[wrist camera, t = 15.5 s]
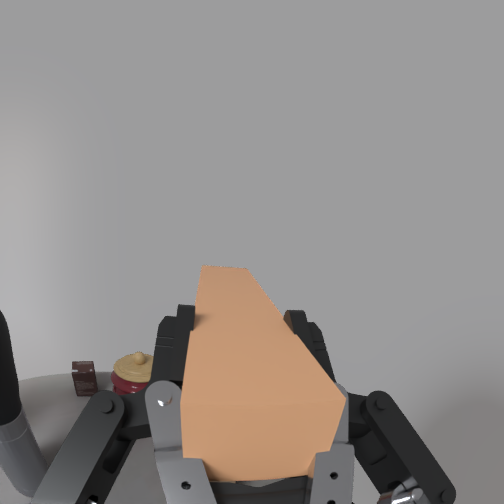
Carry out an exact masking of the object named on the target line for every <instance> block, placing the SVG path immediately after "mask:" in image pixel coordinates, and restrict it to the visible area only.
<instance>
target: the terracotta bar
mask: <svg viewBox="0 0 504 504" xmlns="http://www.w3.org/2000/svg"><path fill="white" fill-rule="evenodd" d="M195 307H196V308H195V321H194V329H193V331H191V332H190V338H189V344H188V351H187V358H186V364H185V371H184V379H183V386H182V394H181V401H180V410H181V432H182V448H183V458H200V459H202V462H203V465H204V468H205V471H206V474H207V477H208V480H209V481H249V480H267V479H278V478H288V477H296V476H304V475H308V467H309V465H310V463H311V461H312V460H313V458H314V456H315V454H316V453H319V452H325V451H330V448H331V445H332V442H333V440H334V437H335V434H336V431H337V428H338V425H339V422H340V418H341V415H342V412H343V409H344V405H345V402H346V398H345V397H344V395H343V394H342V393H341V391H340V390H339V389H338V388H337V386H336V385H335V384H334V382H333V381H332V380H331V379H330V377H329V376H328V375H327V373H326V372H325V371H324V370H323V368H322V367H321V366H320V364H319V363H318V362H317V360H316V359H315V358H314V357H313V355H312V354H311V353H310V351H309V350H308V349H307V347H306V346H305V345H304V343H303V342H302V341H301V340H300V338H299V337H298V336H297V335H294V333H293V332H292V331H291V329H290V328H289V327H288V325H287V324H286V323H285V321H284V320H283V318H284V317H283V316H282V315H281V313H280V312H279V311H278V309H277V308H276V307H275V305H274V304H273V303H272V301H271V300H270V299H269V297H268V296H267V295H266V293H265V292H264V291H263V289H262V288H261V287H260V285H259V284H258V283H257V281H256V280H255V279H254V277H253V276H252V275H251V273H250V272H249V271H248V269H246V268H232V267H217V266H205V265H203V266H202V268H201V274H200V279H199V285H198V291H197V296H196V302H195Z"/></svg>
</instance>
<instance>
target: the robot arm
mask: <svg viewBox="0 0 504 504" xmlns="http://www.w3.org/2000/svg"><path fill="white" fill-rule="evenodd" d="M195 308H196V307H195V306H193V305H180V304H179V305H178V310H177V317H173V316H165V317H164V319H163V320H162V321H161V323H160V324H159V327H158V333H157V338H156V346H155V351H154V357H153V363H152V370H151V377H150V380H149V382H148V384H147V385H146V386H145V387H144V388H143V389H142V390H140V391H138V392H135V393H130V394H124V395H118V394H116V393H115V392H112V391H109V390H103V391H99V392H97V393H95V394H94V395H93V396H92V397H91V398H90V400H89V402H88V403H87V405H86V406H85V408H84V410H83V411H82V413H81V414H80V416H79V418H78V419H77V421H76V423H75V424H74V426H73V428H72V429H71V431H70V433H69V434H68V436H67V438H66V439H65V441H64V443H63V444H62V446H61V448H60V450H59V451H58V453H57V455H56V456H55V458H54V460H53V462H52V464H51V465H50V467H48V465H47V463H46V461H45V459H44V457H43V455H42V453H41V451H40V448H39V446H38V444H37V442H36V440H35V437H34V435H33V433H32V430H31V428H30V425H29V423H28V420H27V418H26V415H25V412H24V409H23V407H22V404H21V401H20V397H19V384H18V378H17V374H16V369H15V364H14V358H13V352H12V347H11V340H10V334H9V330H8V326H7V322H6V320H5V318H4V315H3V314H2V312H1V311H0V465H1V467H2V469H3V470H4V472H5V473H6V475H7V477H8V478H9V480H10V481H11V483H12V484H13V485H14V487H15V488H16V489H17V490H18V491H19V492H20V493H22V494H23V495H26V496H29V497H33V499H32V501H31V503H30V504H104V502H105V500H106V498H107V496H108V494H109V492H110V490H111V488H112V486H113V484H114V482H115V480H116V478H117V476H118V474H119V472H120V470H121V468H122V466H123V464H124V462H125V460H126V458H127V457H128V455H129V453H130V451H131V449H132V447H133V445H134V443H135V441H136V439H141V438H147V437H152V439H153V444H154V454H155V460H156V464H157V468H158V472H159V476H160V480H161V483H162V487H163V490H164V494H165V497H166V501H167V504H354V503H353V502H352V490H353V476H354V455H355V457H356V458H357V460H358V461H359V463H360V465H361V466H362V467H363V469H364V471H365V472H366V474H367V475H368V477H369V478H370V480H371V481H372V483H373V484H374V486H375V487H376V489H377V490H378V492H379V493H380V495H381V496H380V498H379V501H378V502H377V504H453V503H454V501H455V498H456V490H455V488H454V486H453V484H452V483H451V481H450V480H449V478H448V477H447V476H446V474H445V473H444V471H443V470H442V468H441V467H440V465H439V464H438V462H437V461H436V460H435V458H434V457H433V455H432V454H431V452H430V451H429V449H428V448H427V447H426V445H425V444H424V442H423V441H422V439H421V438H420V437H419V435H418V434H417V433H416V431H415V430H414V429H413V427H412V425H411V424H410V423H409V421H408V420H407V418H406V417H405V416H404V414H403V413H402V411H401V410H400V409H399V407H398V406H397V405H396V403H395V402H394V400H393V399H392V398H391V397H390V395H388V394H387V393H386V392H383V391H374V392H372V393H370V394H369V395H368V396H362V395H356V394H351V393H348V392H347V391H346V390H345V388H344V387H343V386H341V385H340V384H338V383H337V382H336V380H335V377H334V374H333V370H332V367H331V363H330V360H329V356H328V353H327V351H326V346H325V343H324V339H323V336H322V332H321V330H320V329H319V328H318V326H317V325H316V324H315V323H314V322H307V318H306V314H305V312H304V311H303V310H287V311H286V312H285V315H284V318H283V320H284V321H285V323H286V324H287V325H288V327H289V328H290V329H291V331H292V332H293V333H294V335H297V336H298V337H299V338H300V340H301V341H302V342H303V343H304V345H305V346H306V347H307V349H308V350H309V351H310V353H311V354H312V355H313V357H314V358H315V359H316V360H317V362H318V363H319V364H320V366H321V367H322V368H323V370H324V371H325V372H326V373H327V375H328V376H329V377H330V379H331V380H332V381H333V382H334V384H335V385H336V386H337V388H338V389H339V390H340V391H341V393H342V394H343V395H344V397H345V398H346V402H345V405H344V409H343V412H342V415H341V418H340V422H339V425H338V428H337V431H336V434H335V437H334V440H333V442H332V445H331V448H330V451H325V452H319V453H316V454H315V456H314V458H313V460H312V461H311V463H310V465H309V467H308V475H304V476H296V477H288V478H285V479H284V480H281V481H278V482H275V483H272V484H269V485H266V486H263V487H252V486H247V485H241V484H236V483H231V482H209V480H208V477H207V474H206V471H205V468H204V465H203V462H202V459H200V458H183V448H182V432H181V410H180V401H181V394H182V386H183V379H184V371H185V364H186V358H187V351H188V344H189V338H190V332H191V331H193V329H194V321H195ZM330 477H331V478H330Z"/></svg>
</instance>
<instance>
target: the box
mask: <svg viewBox="0 0 504 504" xmlns="http://www.w3.org/2000/svg"><path fill="white" fill-rule="evenodd" d="M72 377H73V381H74V386H75V390H76V394H77V396H93V395H94V394H95V393H97V392H98V388H97V382H96V376H95V370H94V364H93V361H82V362H81V361H80V362H72Z"/></svg>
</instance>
